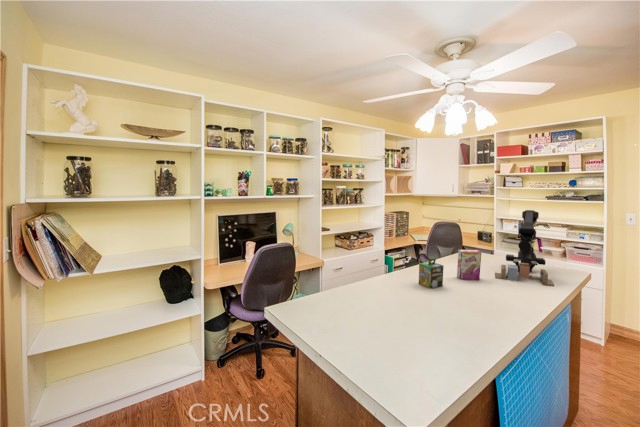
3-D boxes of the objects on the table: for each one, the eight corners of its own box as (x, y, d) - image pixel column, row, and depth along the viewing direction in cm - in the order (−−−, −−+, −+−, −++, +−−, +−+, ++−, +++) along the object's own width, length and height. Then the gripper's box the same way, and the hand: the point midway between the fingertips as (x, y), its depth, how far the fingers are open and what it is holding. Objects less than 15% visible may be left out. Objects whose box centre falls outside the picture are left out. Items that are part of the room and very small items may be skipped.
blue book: (507, 275, 172) (508, 264, 172) (516, 276, 170) (517, 265, 169) (507, 279, 165) (508, 267, 165) (517, 280, 163) (518, 268, 162)
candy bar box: (459, 279, 166) (461, 251, 164) (456, 276, 171) (457, 249, 169) (480, 280, 165) (481, 251, 163) (476, 277, 170) (477, 249, 168)
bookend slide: (540, 279, 165) (540, 269, 164) (551, 280, 163) (551, 270, 162) (542, 284, 157) (543, 274, 156) (554, 286, 154) (555, 275, 153)
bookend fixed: (495, 273, 176) (495, 263, 176) (504, 274, 174) (505, 265, 173) (495, 278, 168) (495, 268, 167) (505, 279, 165) (506, 269, 165)
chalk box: (430, 281, 164) (431, 255, 162) (443, 286, 155) (444, 259, 154) (417, 283, 160) (418, 257, 158) (430, 288, 151) (431, 261, 150)
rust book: (518, 273, 176) (519, 262, 175) (527, 274, 173) (528, 263, 173) (519, 277, 169) (520, 265, 168) (529, 278, 166) (529, 266, 166)
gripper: (507, 248, 167) (505, 274, 169) (548, 252, 158) (545, 280, 159) (506, 245, 177) (504, 269, 178) (544, 248, 167) (542, 274, 169)
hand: (523, 273), depth 171 cm, fingers closed on rust book, 4 cm apart
